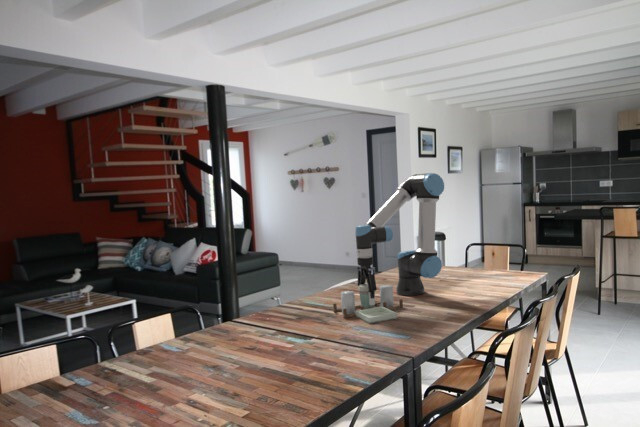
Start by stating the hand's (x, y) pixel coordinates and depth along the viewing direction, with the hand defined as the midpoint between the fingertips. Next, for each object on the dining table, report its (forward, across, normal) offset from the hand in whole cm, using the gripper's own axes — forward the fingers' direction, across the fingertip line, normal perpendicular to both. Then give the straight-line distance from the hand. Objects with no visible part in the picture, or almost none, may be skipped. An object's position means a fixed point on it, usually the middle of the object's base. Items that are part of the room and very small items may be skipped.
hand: (367, 302), depth 234 cm
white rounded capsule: (+3, 0, -10) cm, 11 cm away
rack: (+3, 0, 0) cm, 3 cm away
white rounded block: (+3, 0, +10) cm, 11 cm away
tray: (+3, +14, -3) cm, 15 cm away
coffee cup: (+4, 0, 0) cm, 4 cm away
